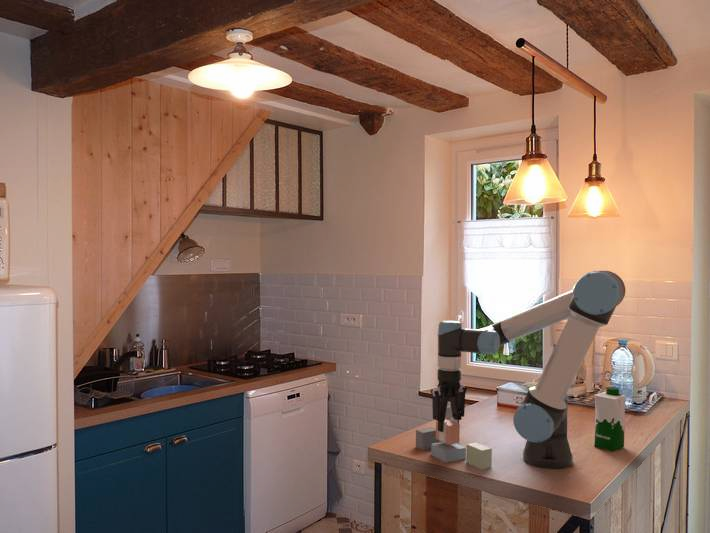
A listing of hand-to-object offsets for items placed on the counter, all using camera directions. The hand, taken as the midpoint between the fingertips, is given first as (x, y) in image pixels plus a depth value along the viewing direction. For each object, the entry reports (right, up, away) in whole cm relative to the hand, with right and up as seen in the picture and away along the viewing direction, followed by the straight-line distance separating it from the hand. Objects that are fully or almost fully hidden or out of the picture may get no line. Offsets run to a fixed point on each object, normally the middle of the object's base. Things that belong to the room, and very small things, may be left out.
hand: (448, 439), depth 196 cm
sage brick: (+8, -6, -8) cm, 13 cm away
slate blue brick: (0, -6, -1) cm, 6 cm away
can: (+3, -5, +19) cm, 20 cm away
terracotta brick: (0, 0, 0) cm, 1 cm away
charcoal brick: (-6, -5, +9) cm, 12 cm away
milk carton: (+57, -6, +10) cm, 58 cm away
